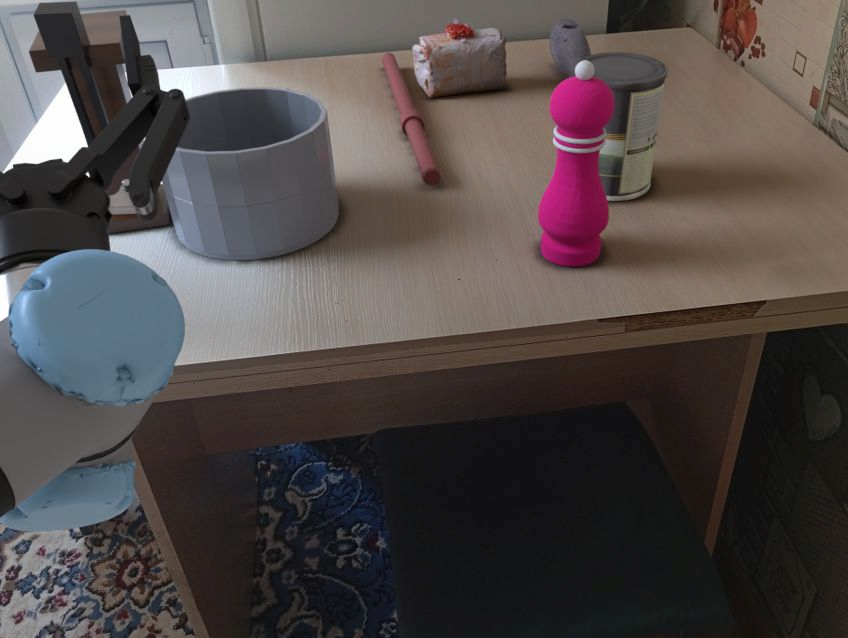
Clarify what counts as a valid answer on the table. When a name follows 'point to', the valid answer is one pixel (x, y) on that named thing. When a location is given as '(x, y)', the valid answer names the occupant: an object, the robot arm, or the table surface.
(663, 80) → the coffee can
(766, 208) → the table surface
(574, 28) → the perforated stone tool
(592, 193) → the pepper mill
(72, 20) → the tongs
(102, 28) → the pedestal
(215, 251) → the pot
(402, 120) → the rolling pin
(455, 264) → the table surface
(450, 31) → the food item
